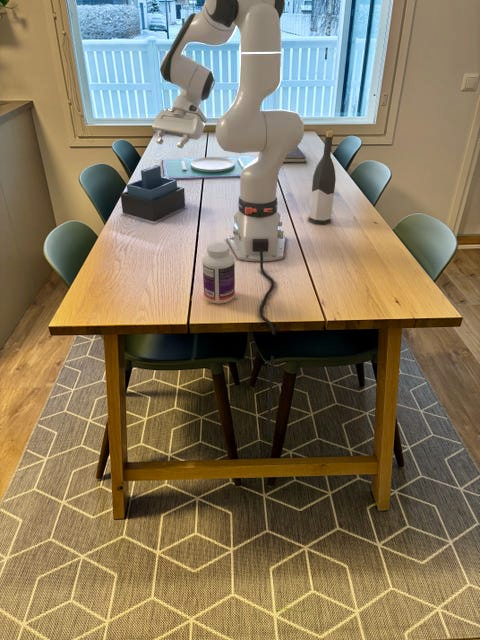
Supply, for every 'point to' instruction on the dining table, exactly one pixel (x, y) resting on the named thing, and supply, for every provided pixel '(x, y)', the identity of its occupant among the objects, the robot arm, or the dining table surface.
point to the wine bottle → (323, 186)
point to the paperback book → (295, 156)
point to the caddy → (152, 185)
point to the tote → (153, 205)
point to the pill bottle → (218, 273)
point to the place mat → (205, 167)
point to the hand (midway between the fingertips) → (169, 145)
